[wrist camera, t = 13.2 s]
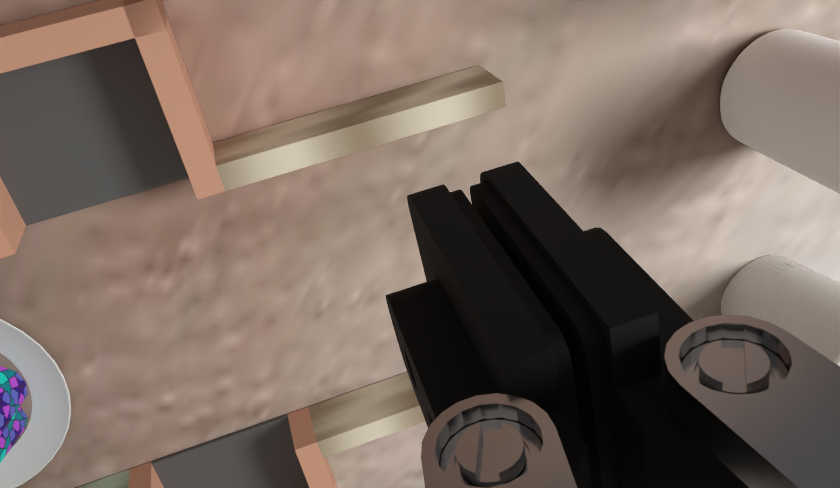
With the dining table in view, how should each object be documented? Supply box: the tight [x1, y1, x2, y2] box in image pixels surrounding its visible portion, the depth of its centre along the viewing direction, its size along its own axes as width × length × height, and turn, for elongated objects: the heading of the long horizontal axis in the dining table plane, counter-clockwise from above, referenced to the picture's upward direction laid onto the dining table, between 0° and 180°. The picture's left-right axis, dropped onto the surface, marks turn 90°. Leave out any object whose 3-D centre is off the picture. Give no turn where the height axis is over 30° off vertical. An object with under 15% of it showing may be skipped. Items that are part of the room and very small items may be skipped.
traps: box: [0, 0, 337, 488], centre depth 37 cm, size 10×31×3 cm, turn 11°
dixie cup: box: [721, 255, 840, 366], centre depth 44 cm, size 8×8×10 cm
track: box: [77, 66, 506, 488], centre depth 36 cm, size 37×17×4 cm, turn 101°
